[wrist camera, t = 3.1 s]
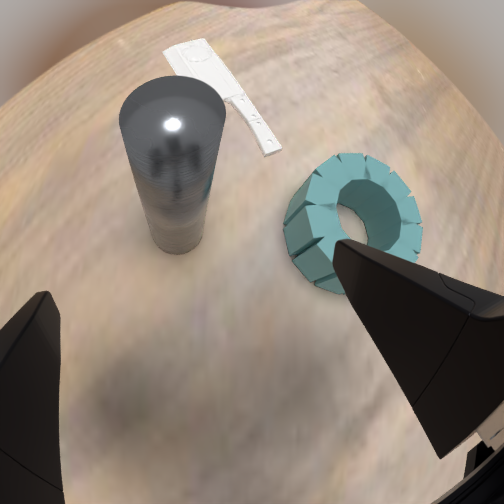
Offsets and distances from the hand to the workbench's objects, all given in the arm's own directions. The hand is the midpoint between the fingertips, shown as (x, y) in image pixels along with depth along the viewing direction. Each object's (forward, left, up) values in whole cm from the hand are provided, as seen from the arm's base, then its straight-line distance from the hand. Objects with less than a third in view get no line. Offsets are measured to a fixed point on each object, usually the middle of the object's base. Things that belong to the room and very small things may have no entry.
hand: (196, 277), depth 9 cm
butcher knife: (+13, -12, -12) cm, 22 cm away
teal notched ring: (-3, -12, -12) cm, 17 cm away
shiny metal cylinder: (+5, -3, -12) cm, 13 cm away
